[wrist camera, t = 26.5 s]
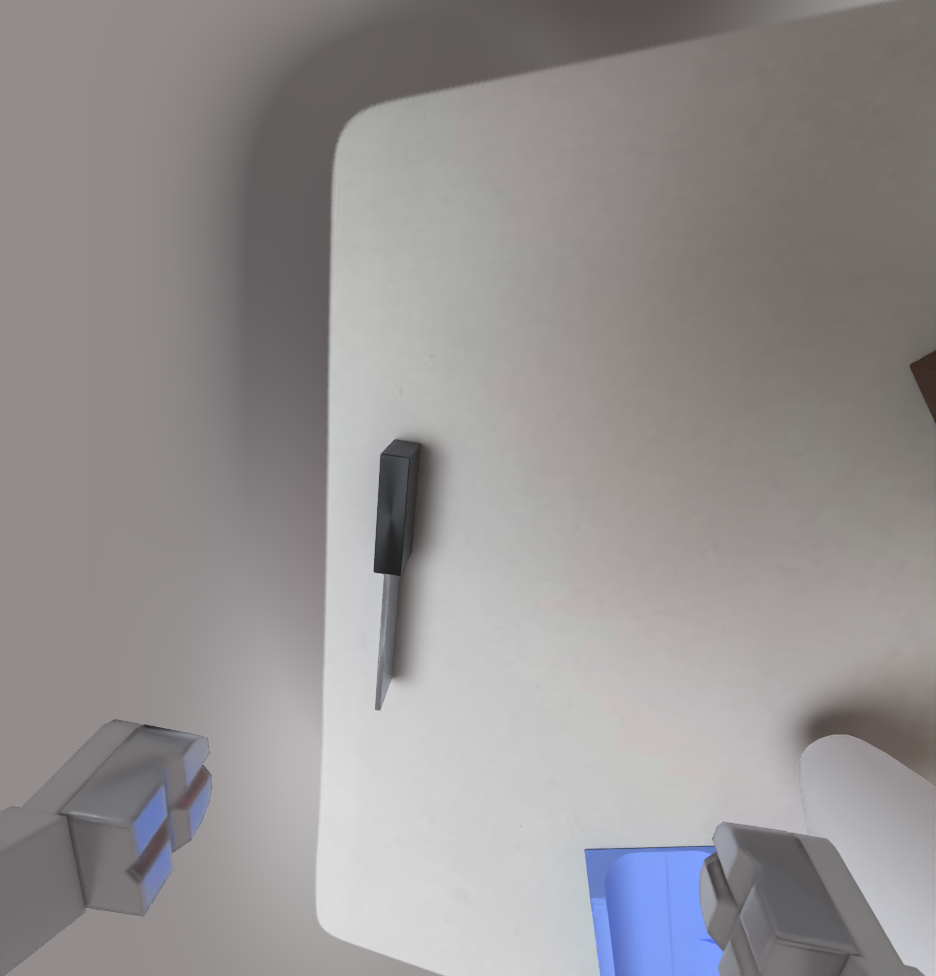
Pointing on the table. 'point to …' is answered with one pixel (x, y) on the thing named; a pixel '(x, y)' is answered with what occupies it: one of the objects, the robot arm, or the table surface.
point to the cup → (878, 836)
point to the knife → (393, 543)
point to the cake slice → (927, 379)
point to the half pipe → (650, 912)
